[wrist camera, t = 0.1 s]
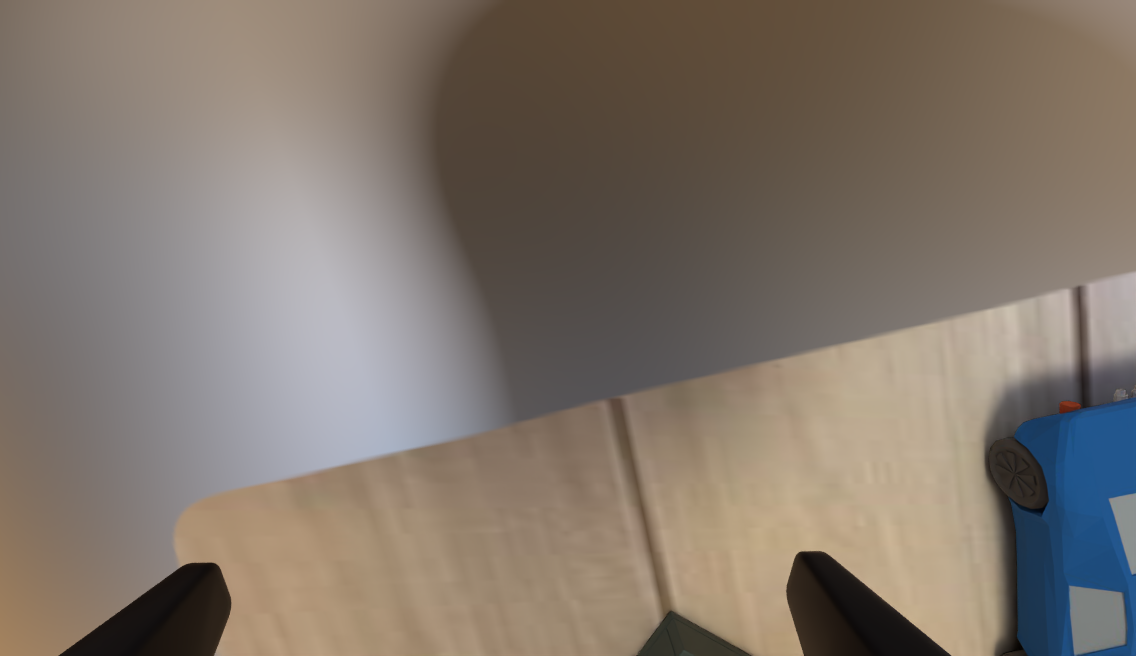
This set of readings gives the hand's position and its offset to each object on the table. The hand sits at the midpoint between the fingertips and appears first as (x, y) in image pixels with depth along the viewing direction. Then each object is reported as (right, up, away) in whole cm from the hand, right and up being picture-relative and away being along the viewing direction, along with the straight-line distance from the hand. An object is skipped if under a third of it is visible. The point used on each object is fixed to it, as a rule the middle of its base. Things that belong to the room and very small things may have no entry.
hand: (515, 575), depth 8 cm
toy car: (+27, -8, +19) cm, 34 cm away
